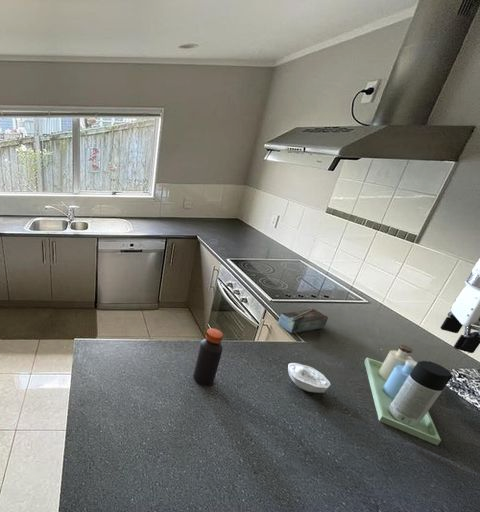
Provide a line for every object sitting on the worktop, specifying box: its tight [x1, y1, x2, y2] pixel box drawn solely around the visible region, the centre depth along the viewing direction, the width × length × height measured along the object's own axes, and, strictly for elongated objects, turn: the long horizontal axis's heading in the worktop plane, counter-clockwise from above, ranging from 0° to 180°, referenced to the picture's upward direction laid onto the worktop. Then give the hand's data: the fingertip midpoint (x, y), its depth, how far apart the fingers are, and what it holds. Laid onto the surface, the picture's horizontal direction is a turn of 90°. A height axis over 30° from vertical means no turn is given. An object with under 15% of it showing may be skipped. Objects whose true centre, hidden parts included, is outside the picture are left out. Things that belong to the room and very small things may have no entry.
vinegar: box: [193, 327, 224, 387], centre depth 94 cm, size 7×7×20 cm
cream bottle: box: [378, 344, 415, 381], centre depth 98 cm, size 6×6×14 cm
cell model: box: [287, 362, 331, 393], centre depth 95 cm, size 10×12×7 cm
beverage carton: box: [277, 308, 329, 334], centre depth 128 cm, size 8×19×7 cm, turn 103°
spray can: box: [388, 360, 453, 427], centre depth 82 cm, size 7×7×20 cm
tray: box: [363, 357, 442, 446], centre depth 93 cm, size 12×31×3 cm, turn 144°
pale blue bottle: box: [382, 359, 418, 399], centre depth 91 cm, size 6×6×14 cm
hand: (455, 340), depth 74 cm, fingers open, 9 cm apart
